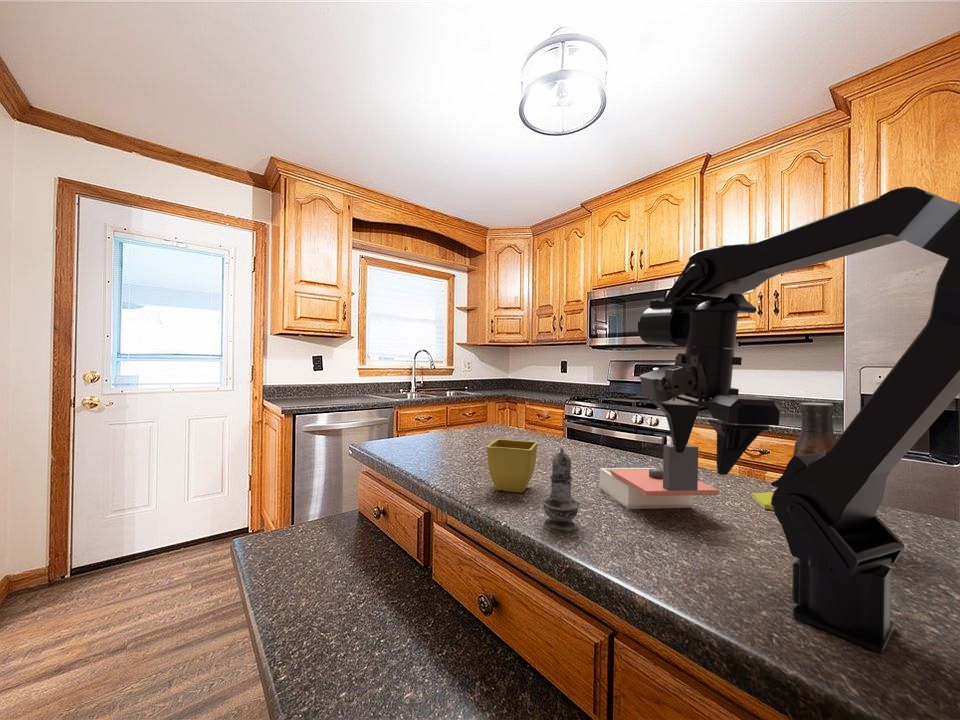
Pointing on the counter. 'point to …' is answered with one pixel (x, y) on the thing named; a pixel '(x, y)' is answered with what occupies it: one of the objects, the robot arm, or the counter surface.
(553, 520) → the salt shaker
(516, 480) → the flower pot
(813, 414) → the sauce bottle
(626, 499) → the white rectangular box
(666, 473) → the lid
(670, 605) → the counter surface
